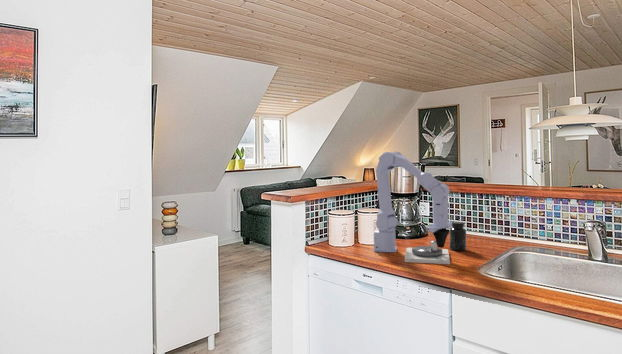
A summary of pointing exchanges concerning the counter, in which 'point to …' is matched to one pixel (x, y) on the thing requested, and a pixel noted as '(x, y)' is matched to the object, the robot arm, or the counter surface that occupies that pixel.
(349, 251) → the counter surface
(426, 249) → the dial
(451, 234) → the supplement bottle
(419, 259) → the dial plate
